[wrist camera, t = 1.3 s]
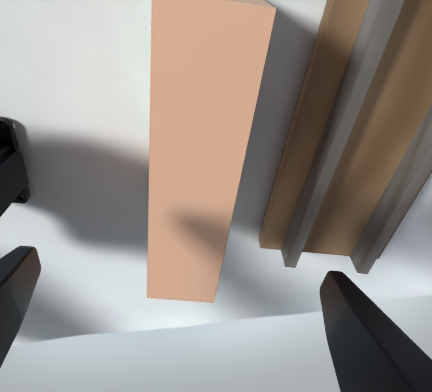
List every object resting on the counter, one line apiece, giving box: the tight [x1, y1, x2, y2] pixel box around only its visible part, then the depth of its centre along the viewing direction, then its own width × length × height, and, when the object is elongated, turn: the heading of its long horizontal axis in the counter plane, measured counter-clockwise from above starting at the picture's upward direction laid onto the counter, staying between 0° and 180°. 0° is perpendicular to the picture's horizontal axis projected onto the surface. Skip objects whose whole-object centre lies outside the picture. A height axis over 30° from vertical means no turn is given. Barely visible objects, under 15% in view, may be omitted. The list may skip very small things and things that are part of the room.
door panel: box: [147, 0, 276, 303], centre depth 17 cm, size 4×14×9 cm, turn 172°
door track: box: [259, 0, 432, 274], centre depth 20 cm, size 10×20×3 cm, turn 172°
